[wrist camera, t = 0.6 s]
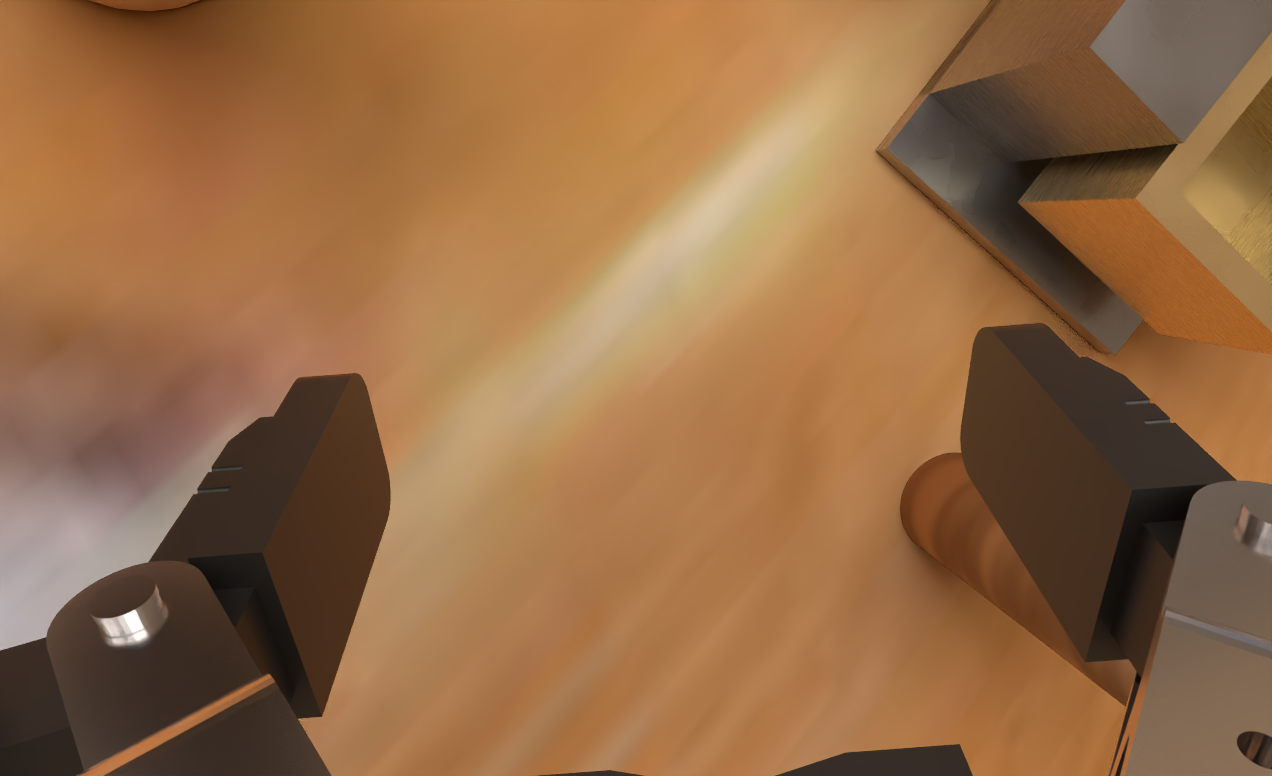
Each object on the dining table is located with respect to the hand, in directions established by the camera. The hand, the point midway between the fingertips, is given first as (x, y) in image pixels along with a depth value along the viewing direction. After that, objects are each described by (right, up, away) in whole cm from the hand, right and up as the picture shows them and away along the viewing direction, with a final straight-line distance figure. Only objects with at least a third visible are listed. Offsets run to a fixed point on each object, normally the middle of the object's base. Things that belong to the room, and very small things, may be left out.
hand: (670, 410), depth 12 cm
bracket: (+17, +10, +23) cm, 30 cm away
